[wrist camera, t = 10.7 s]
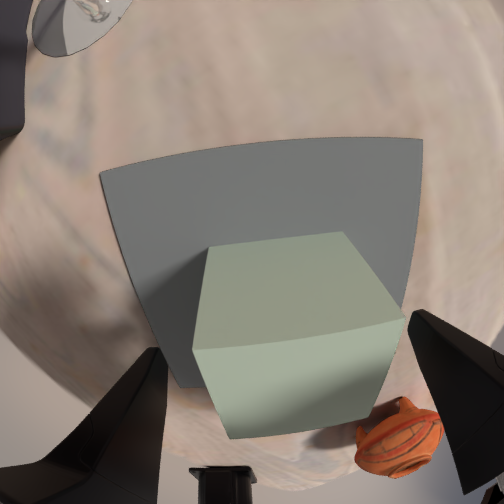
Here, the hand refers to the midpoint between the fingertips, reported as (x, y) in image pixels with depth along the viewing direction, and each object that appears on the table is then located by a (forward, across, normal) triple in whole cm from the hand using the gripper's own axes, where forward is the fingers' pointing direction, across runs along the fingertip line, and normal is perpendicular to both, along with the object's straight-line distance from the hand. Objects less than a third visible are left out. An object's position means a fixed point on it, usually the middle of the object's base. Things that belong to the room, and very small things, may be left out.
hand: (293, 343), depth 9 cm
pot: (+3, -9, +15) cm, 18 cm away
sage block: (+3, 0, 0) cm, 3 cm away
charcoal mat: (+3, 0, 0) cm, 3 cm away
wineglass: (+3, +6, -13) cm, 15 cm away
